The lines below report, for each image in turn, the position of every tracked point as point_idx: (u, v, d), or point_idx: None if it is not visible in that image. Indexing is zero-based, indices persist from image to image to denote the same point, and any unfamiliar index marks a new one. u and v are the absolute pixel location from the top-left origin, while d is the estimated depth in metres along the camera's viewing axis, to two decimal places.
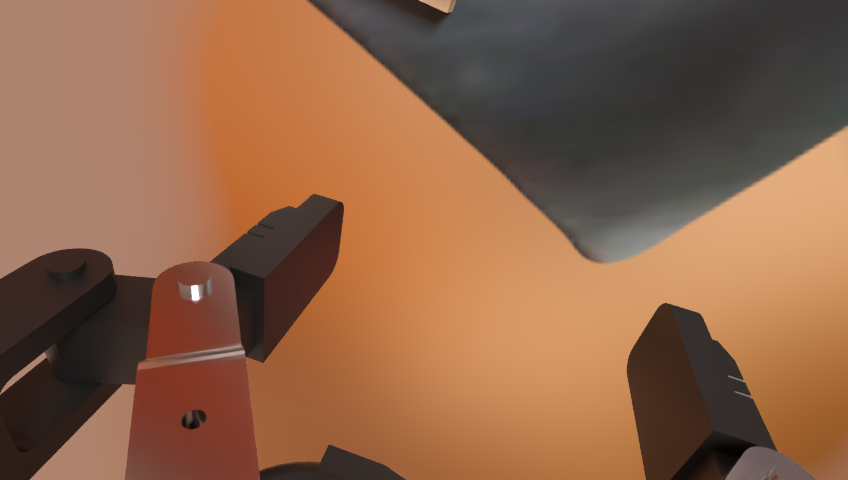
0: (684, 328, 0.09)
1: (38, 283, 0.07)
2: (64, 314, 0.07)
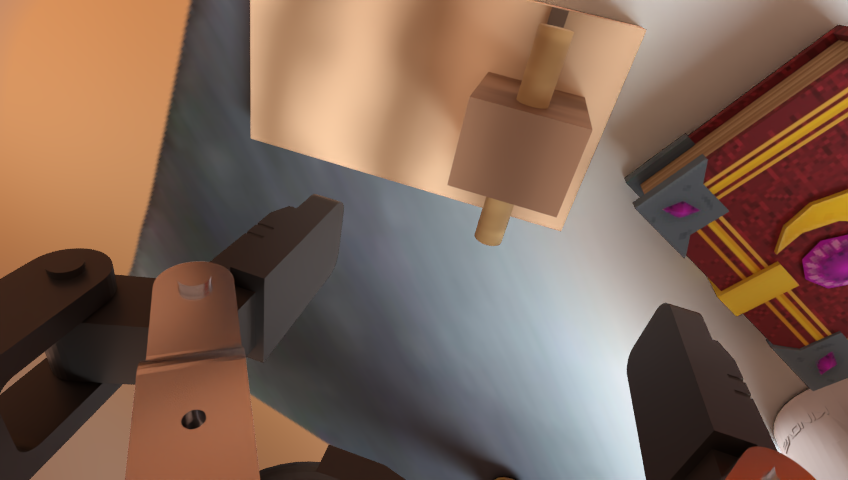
0: (684, 328, 0.09)
1: (38, 283, 0.07)
2: (63, 314, 0.07)
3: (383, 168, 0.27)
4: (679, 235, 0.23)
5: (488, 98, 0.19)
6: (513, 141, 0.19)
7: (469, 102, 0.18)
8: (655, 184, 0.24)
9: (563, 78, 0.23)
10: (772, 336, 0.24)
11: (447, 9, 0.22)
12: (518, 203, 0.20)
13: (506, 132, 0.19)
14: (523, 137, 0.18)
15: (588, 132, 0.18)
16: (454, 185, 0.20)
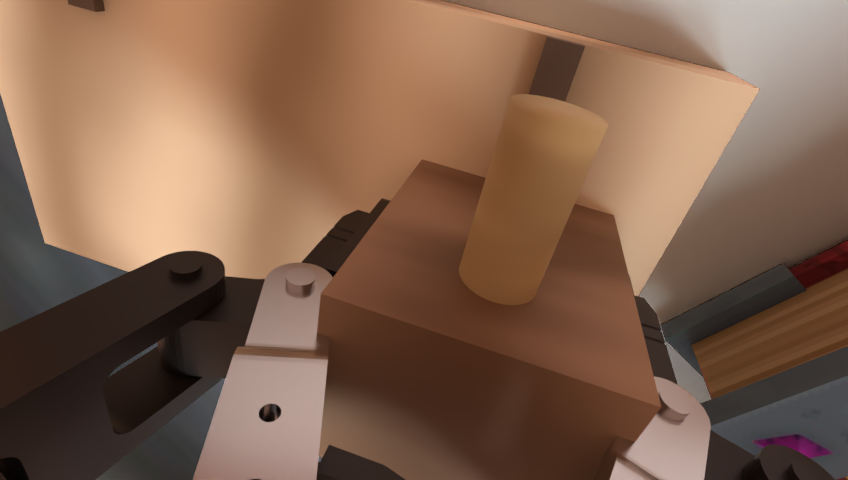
0: None
1: (160, 280, 0.07)
2: (172, 314, 0.07)
3: None
4: None
5: (378, 287, 0.07)
6: (445, 397, 0.07)
7: (323, 306, 0.07)
8: (726, 362, 0.13)
9: None
10: None
11: (330, 37, 0.11)
12: None
13: (425, 379, 0.07)
14: (469, 395, 0.07)
15: (648, 409, 0.06)
16: (320, 453, 0.09)
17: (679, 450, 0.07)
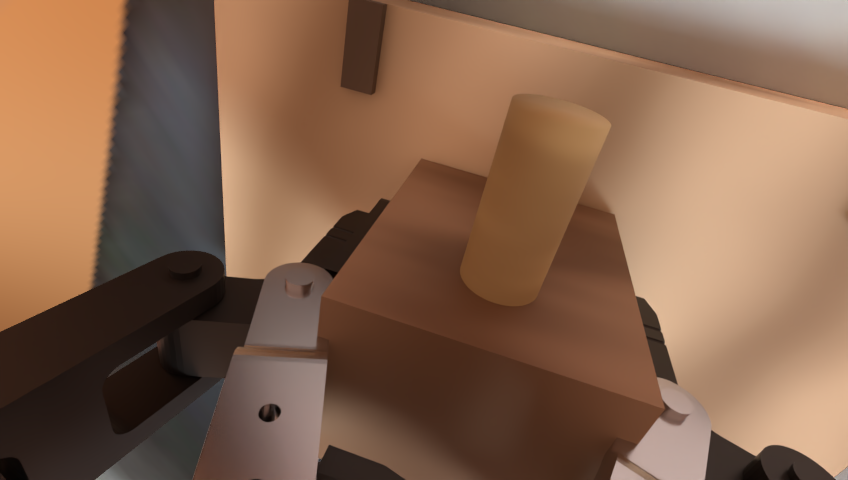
0: None
1: (160, 279, 0.07)
2: (172, 314, 0.07)
3: None
4: None
5: (379, 289, 0.07)
6: (446, 400, 0.07)
7: (323, 308, 0.07)
8: None
9: None
10: None
11: (645, 129, 0.10)
12: None
13: (427, 381, 0.07)
14: (471, 397, 0.07)
15: (652, 411, 0.06)
16: (321, 455, 0.09)
17: (680, 450, 0.07)
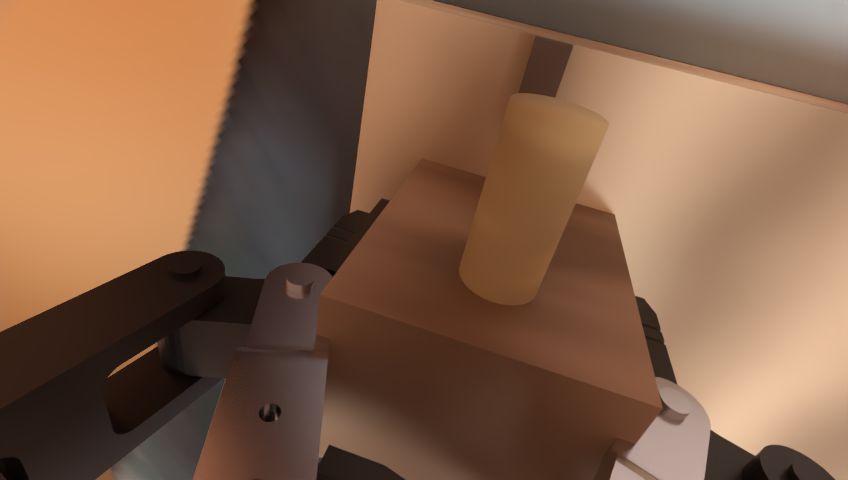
0: None
1: (160, 280, 0.07)
2: (173, 314, 0.07)
3: None
4: None
5: (378, 288, 0.07)
6: (445, 398, 0.07)
7: (322, 306, 0.07)
8: None
9: None
10: None
11: (847, 177, 0.10)
12: None
13: (425, 380, 0.07)
14: (469, 396, 0.07)
15: (649, 410, 0.06)
16: (320, 454, 0.09)
17: (679, 450, 0.07)
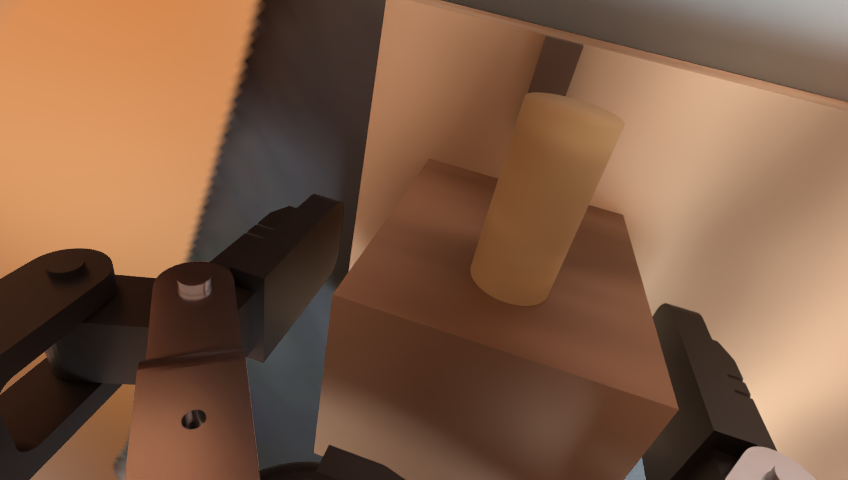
0: (684, 328, 0.09)
1: (38, 283, 0.07)
2: (63, 314, 0.07)
3: None
4: None
5: (390, 288, 0.07)
6: (457, 400, 0.07)
7: (335, 306, 0.07)
8: None
9: None
10: None
11: None
12: None
13: (438, 381, 0.07)
14: (483, 397, 0.07)
15: (665, 411, 0.06)
16: None
17: None
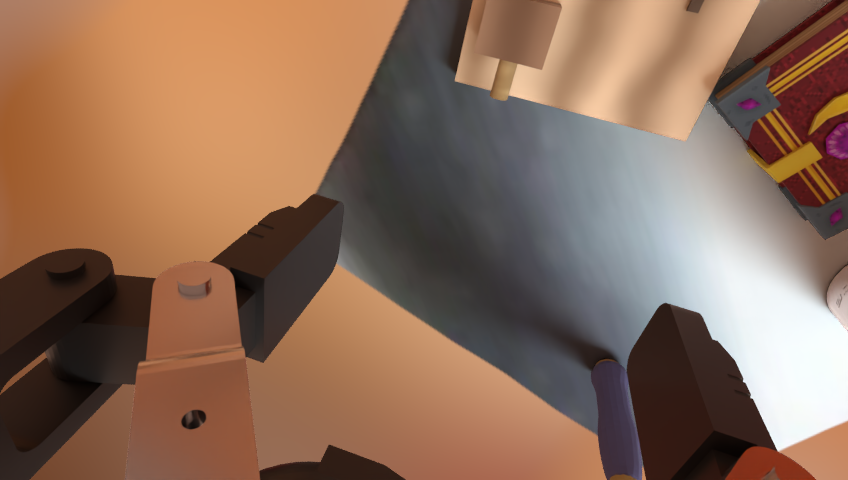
0: (684, 328, 0.09)
1: (38, 283, 0.07)
2: (64, 314, 0.07)
3: (556, 99, 0.39)
4: (745, 123, 0.34)
5: None
6: (515, 18, 0.31)
7: None
8: (728, 92, 0.35)
9: (701, 28, 0.34)
10: (801, 198, 0.36)
11: None
12: (518, 62, 0.32)
13: (511, 13, 0.31)
14: (521, 15, 0.31)
15: (559, 10, 0.30)
16: (478, 52, 0.33)
17: None
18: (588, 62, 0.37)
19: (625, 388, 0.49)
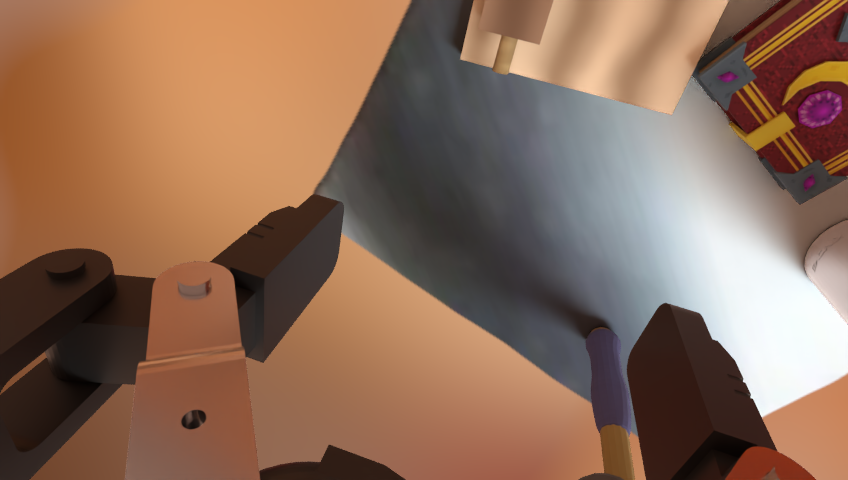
0: (684, 328, 0.09)
1: (38, 283, 0.07)
2: (64, 314, 0.07)
3: (553, 76, 0.42)
4: (725, 95, 0.38)
5: None
6: None
7: None
8: None
9: (684, 9, 0.37)
10: (777, 165, 0.39)
11: None
12: (518, 37, 0.36)
13: None
14: None
15: None
16: (482, 29, 0.36)
17: None
18: (582, 41, 0.40)
19: (617, 352, 0.53)
